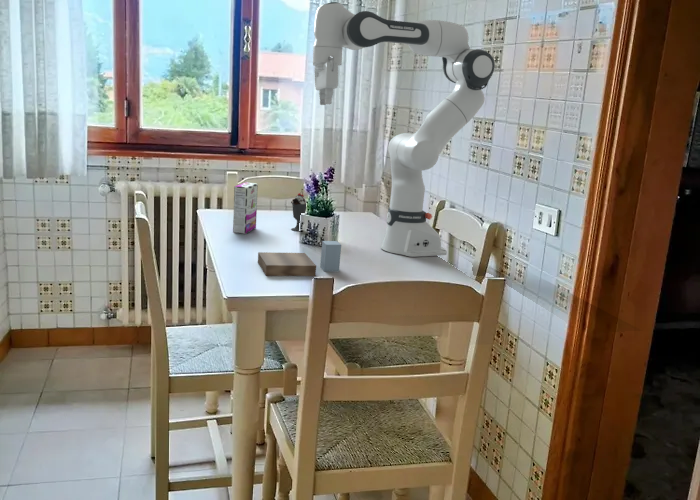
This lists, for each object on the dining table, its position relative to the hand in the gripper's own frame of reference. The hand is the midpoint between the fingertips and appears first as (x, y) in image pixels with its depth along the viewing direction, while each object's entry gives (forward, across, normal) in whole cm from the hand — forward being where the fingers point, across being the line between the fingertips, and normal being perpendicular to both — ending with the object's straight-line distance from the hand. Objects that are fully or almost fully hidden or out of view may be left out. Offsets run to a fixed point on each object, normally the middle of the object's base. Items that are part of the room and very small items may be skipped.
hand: (325, 104), depth 205 cm
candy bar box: (+44, +27, +22) cm, 57 cm away
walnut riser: (+47, -21, +13) cm, 53 cm away
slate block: (+48, -20, 0) cm, 52 cm away
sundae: (+44, +32, +3) cm, 55 cm away
